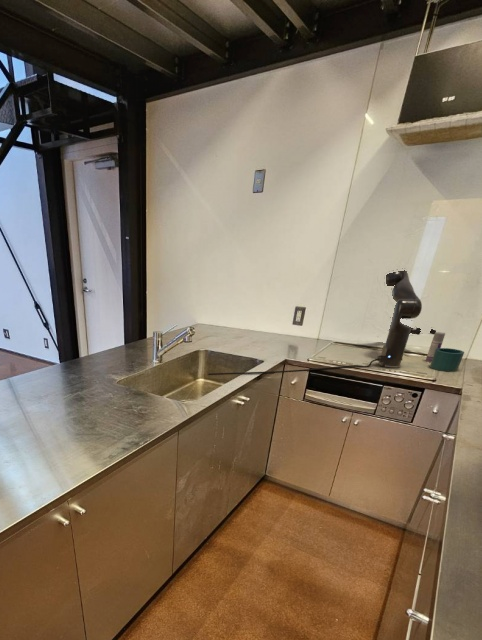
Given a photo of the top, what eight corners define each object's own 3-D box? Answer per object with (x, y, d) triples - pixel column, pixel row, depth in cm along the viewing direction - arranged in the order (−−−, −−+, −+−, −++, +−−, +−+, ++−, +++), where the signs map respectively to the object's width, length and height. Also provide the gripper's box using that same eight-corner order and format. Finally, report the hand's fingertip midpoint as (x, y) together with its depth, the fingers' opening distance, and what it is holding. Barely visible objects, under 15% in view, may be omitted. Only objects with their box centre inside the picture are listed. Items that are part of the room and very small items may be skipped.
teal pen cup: (436, 371, 191) (442, 353, 186) (425, 364, 201) (431, 347, 196) (462, 371, 189) (469, 353, 184) (450, 365, 199) (456, 348, 194)
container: (432, 360, 209) (442, 332, 201) (437, 362, 204) (447, 333, 197) (423, 359, 209) (432, 332, 202) (428, 362, 205) (438, 333, 198)
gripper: (399, 320, 221) (416, 325, 207) (423, 320, 221) (442, 325, 207) (395, 333, 225) (412, 339, 211) (419, 333, 225) (437, 339, 211)
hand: (427, 332), depth 209 cm, fingers open, 8 cm apart
